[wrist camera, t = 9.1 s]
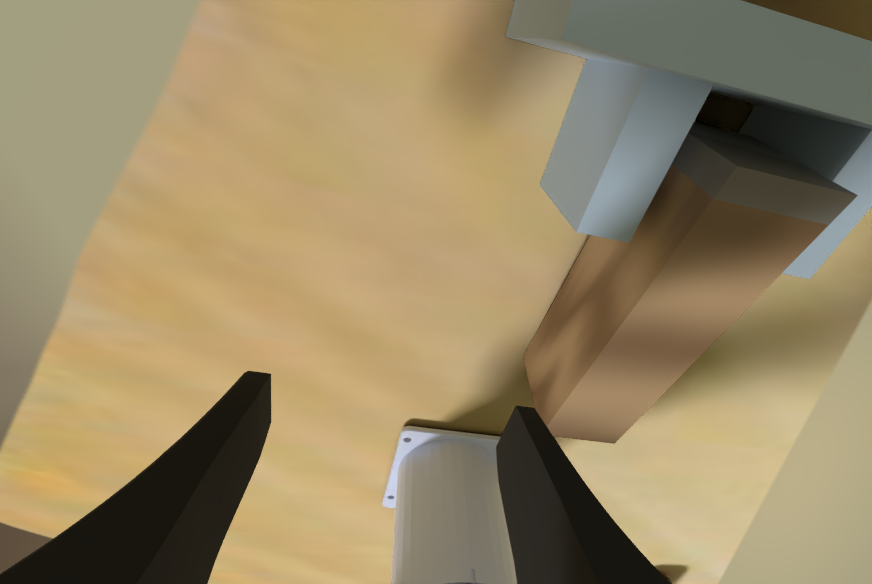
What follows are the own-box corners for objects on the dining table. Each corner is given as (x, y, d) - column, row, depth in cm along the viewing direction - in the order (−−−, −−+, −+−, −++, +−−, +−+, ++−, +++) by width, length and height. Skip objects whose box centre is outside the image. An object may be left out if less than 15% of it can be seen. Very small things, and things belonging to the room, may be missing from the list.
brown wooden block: (585, 366, 24) (614, 443, 20) (523, 357, 23) (540, 434, 20) (751, 136, 15) (858, 195, 11) (658, 112, 15) (737, 166, 11)
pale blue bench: (782, 237, 20) (936, 325, 14) (469, 169, 17) (494, 240, 11) (890, 94, 16) (1157, 130, 10) (518, -14, 14) (589, -47, 8)
